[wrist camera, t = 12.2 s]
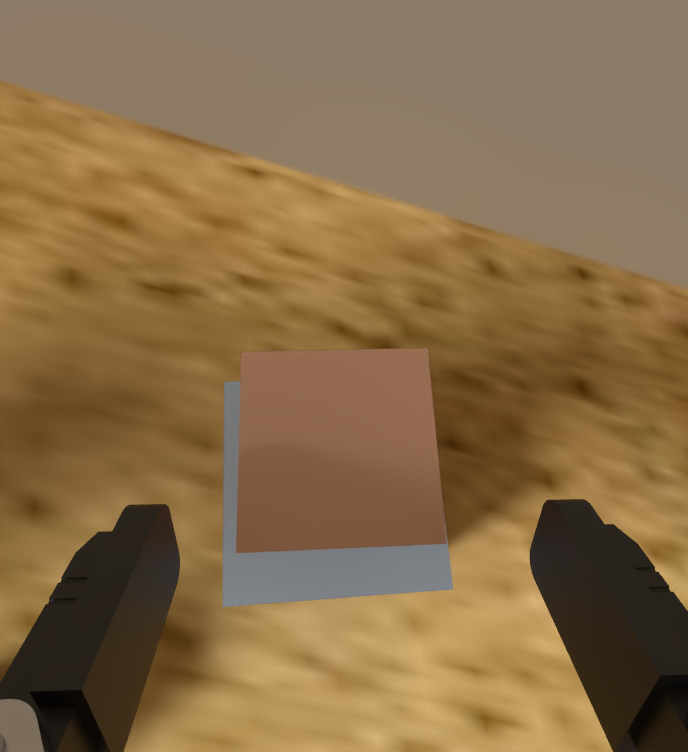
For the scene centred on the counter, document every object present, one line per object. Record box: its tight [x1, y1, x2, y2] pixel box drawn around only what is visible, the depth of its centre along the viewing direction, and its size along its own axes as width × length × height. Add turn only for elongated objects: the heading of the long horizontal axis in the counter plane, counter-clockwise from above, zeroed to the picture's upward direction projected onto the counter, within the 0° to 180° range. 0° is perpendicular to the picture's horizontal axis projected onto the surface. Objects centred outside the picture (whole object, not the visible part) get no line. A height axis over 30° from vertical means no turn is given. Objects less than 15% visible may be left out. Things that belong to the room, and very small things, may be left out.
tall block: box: [236, 348, 447, 553], centre depth 16 cm, size 5×5×8 cm
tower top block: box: [223, 381, 453, 607], centre depth 21 cm, size 9×9×4 cm
